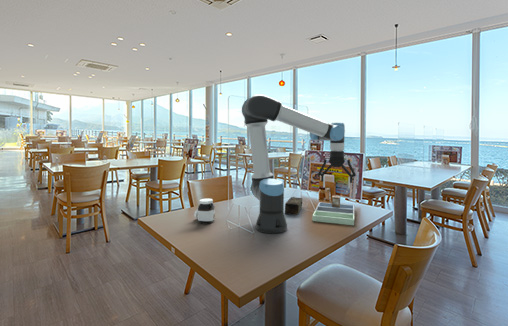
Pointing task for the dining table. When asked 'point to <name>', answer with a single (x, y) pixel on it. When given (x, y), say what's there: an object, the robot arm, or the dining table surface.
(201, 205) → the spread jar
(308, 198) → the dining table surface
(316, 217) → the pale green tray
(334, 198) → the letter block
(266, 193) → the robot arm
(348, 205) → the grey tray
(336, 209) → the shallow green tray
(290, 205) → the beverage carton
